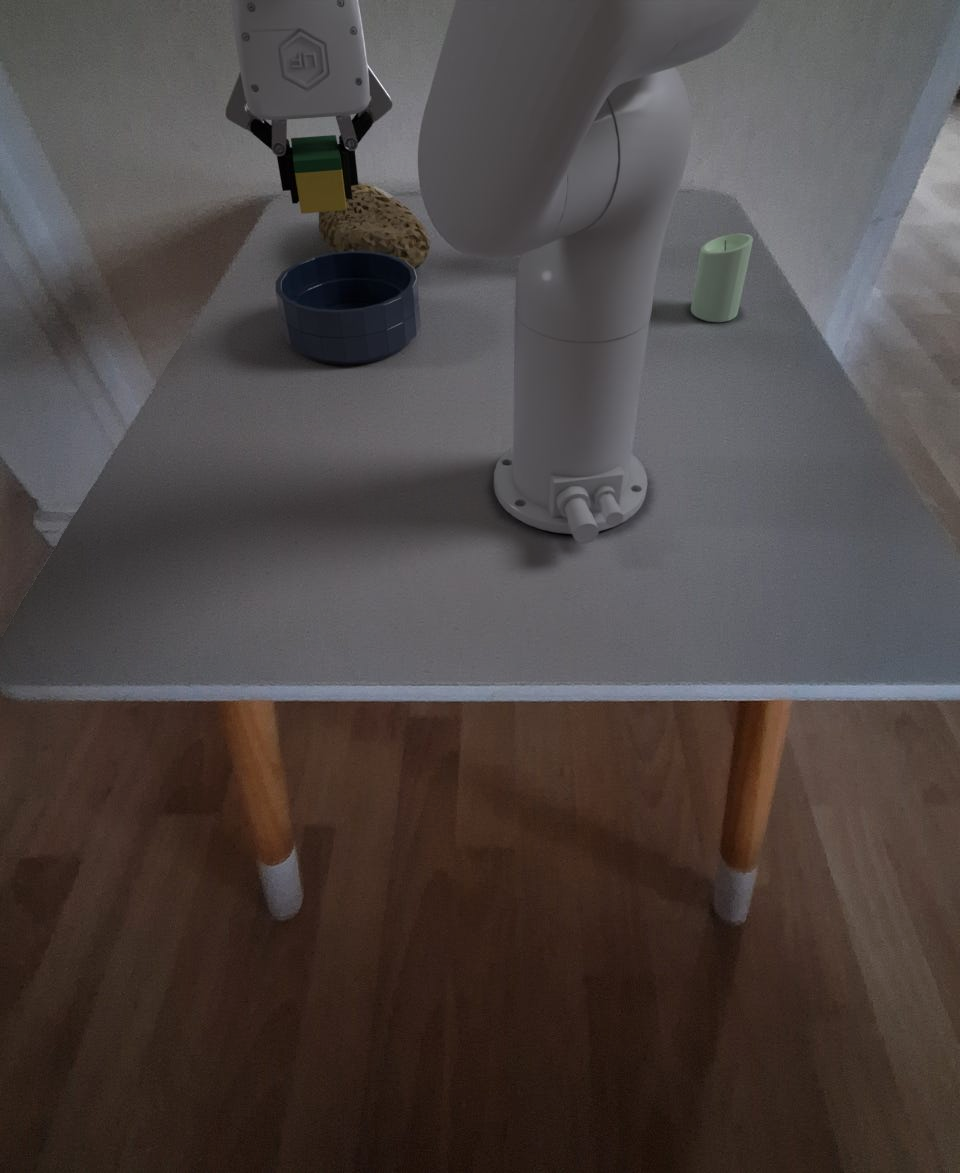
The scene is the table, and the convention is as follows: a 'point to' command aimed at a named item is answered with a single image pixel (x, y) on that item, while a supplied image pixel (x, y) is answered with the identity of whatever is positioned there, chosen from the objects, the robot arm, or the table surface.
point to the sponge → (375, 226)
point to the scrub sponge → (318, 174)
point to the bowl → (349, 306)
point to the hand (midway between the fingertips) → (321, 193)
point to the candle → (721, 277)
